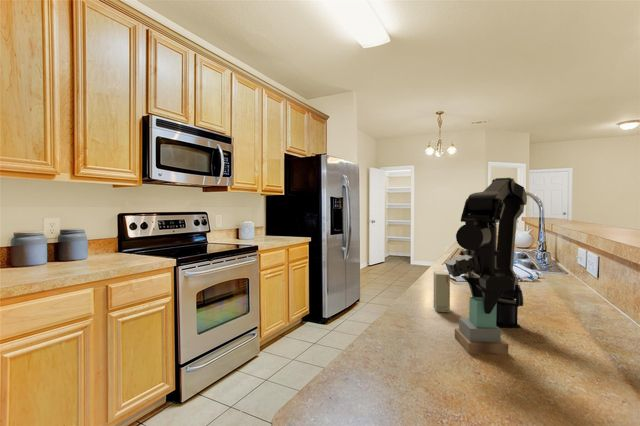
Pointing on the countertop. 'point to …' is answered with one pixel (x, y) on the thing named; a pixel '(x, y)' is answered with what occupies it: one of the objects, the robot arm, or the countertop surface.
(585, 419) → the countertop surface
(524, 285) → the countertop surface
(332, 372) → the countertop surface
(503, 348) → the bottom block
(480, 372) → the countertop surface
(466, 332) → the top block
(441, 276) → the skincare box
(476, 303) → the pillar block
